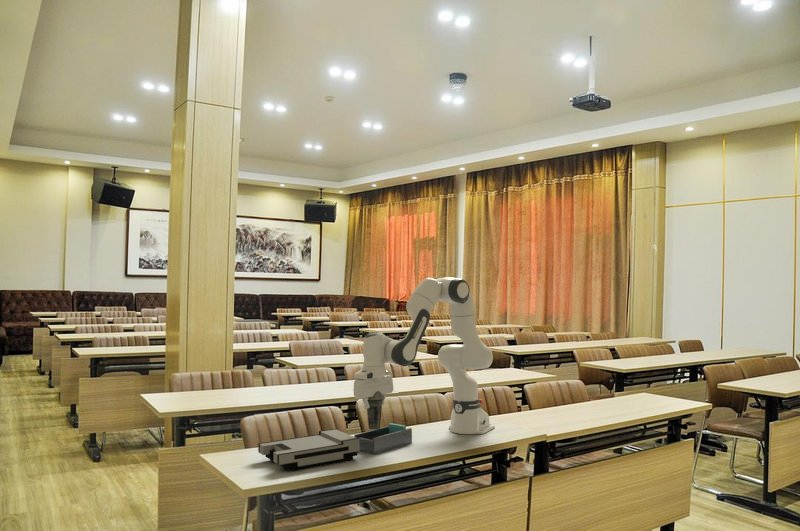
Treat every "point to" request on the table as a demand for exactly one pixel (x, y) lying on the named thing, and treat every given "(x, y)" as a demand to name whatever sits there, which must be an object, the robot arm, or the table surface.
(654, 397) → the table surface
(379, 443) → the grey open box
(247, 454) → the table surface
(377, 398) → the beverage cup
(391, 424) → the pusher
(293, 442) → the game console
